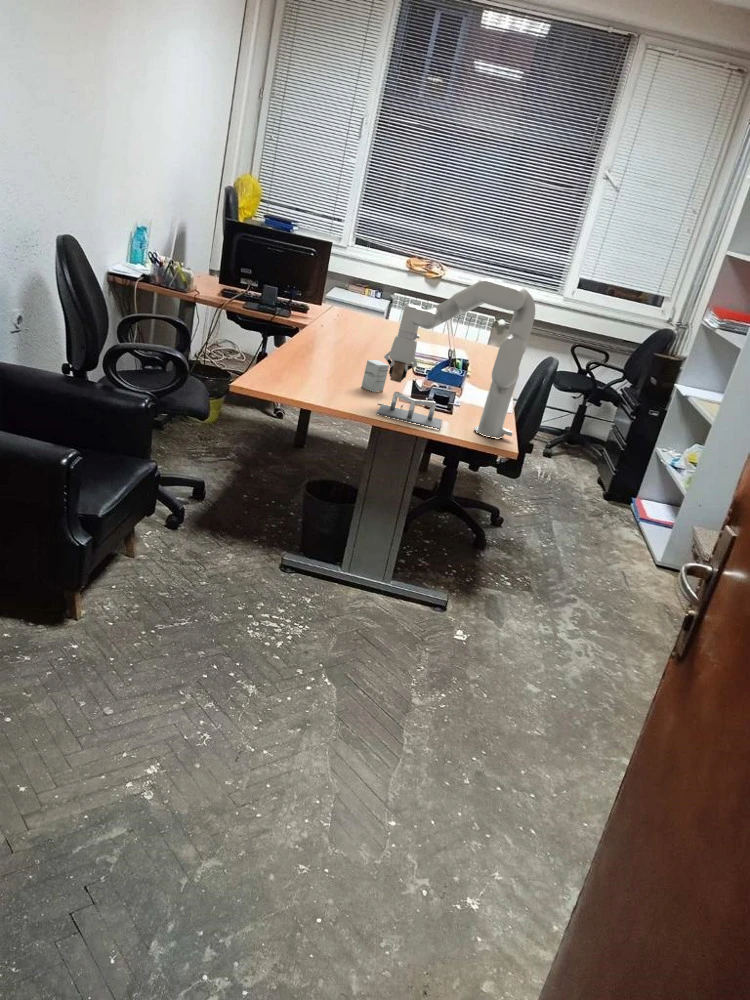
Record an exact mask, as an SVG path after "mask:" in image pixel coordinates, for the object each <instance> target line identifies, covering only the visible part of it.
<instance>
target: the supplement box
mask: <svg viewBox="0 0 750 1000" xmlns="http://www.w3.org/2000/svg"><path fill="white" fill-rule="evenodd" d="M389 369H390V365H389V364H388V363H385V362H383V361H381V360H379V359H367V361H366V364H365V369H364V374H363V378H362V382H361V388H363V389H366V390H367V391H369V390H370V391H369V392H371V391H372V392H371V393H377V392H376V391H383V392H384V388H385V384H386V380H387V376H388V373H389Z"/></svg>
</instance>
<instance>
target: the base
mask: <svg viewBox="0 0 750 1000" xmlns="http://www.w3.org/2000/svg"><path fill="white" fill-rule="evenodd" d="M390 407H391V406H388V405H384V404H382V405H380V407H379V408H378V410H377V411H376V415H377V414H379V415H383V416H387V417H390V418H389V419H391V418H395V419H399V420H403V421H407V422H411V423H416V424H420V425H424V426H428V427H433V428H437V429H439V430H441V426H442V423H443V419H441V418H437V417H433V419H432V420H428V419H427V418H428V415H425V414H421V413H418V412H413V416H412V418H408V417H407V416H408V412H409V410H406V409H399V408H395V410H390ZM379 415H378V416H379ZM383 416H382V417H383ZM387 417H386V418H387ZM395 419H394V420H395Z"/></svg>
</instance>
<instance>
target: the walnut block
mask: <svg viewBox="0 0 750 1000" xmlns="http://www.w3.org/2000/svg"><path fill="white" fill-rule="evenodd" d="M404 369H405V363H401V362H398V361H395V362H394V366H393V370H392V374H391V377H390V381H392V382H396V383H402V381H403V380H402V375H403V371H404Z"/></svg>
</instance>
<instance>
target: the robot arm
mask: <svg viewBox="0 0 750 1000" xmlns="http://www.w3.org/2000/svg"><path fill="white" fill-rule="evenodd" d="M484 304H486V305H489V306H492V307H495V308H499V309H501V310H506V311H510V312H512V313H513V314H512V318H511V320H510V324H509V328H508V331H507V333H506V337H505V338H504V339H503V340H502V341H501V344H500V346H499V348H498V351H497V354H496V358H495V360H494V365H493V367H492V371H491V382H490V387H489V389H488V393H487V396H486V399H485V402H484V407H483V409H482V410H483V411H482V413H481V417H480V421H479V424H478V425H477V426H474V428H473V430H474V429H475V431H477V432H478V433H481V434H483V435H486V436H490V437H496V438H500V437H503V436H504V435H506V436H507V437H512V436H513V431H510V429H506V428H505V427H504V423H505V421H506V416H507V413H508V409H509V406H510V403H511V400H512V397H513V394H514V391H515V388H516V384H517V381H518V380H519V376H520V365H521V363H522V360H523V355H524V354H525V353H526V351H527V346H528V342H529V338H530V336H531V331H532V328H533V325H534V321H535V316H536V303H535V301H534V298H533V296H532V294H531V293H530V292H529V291H528V290H527V289H525V288H524V287H523V286H516V285H515V286H512V287H511V286H508V285H504V284H502V283H501V284H500V283H498V282H497V281H496V280H494V279H493V278H491V277H486V278H483V279H480V280H479V281H477V282H476V283H474V284H471V285H470V286H467V287H466V288H464V289H462V290H460V291H458V292H456V293H455V294H453V295H452V296H451V297H449V298H448V299H446V300H445V301H442V302H441V303H439V304H437V305H435V306H433V307H431V308H429V309H423V307H421V306H420V305H417V304H413V303H407V304H405V306H404V309H403V312H402V316H401V321H400V325H399V329H398V332H397V334H396V335H395V337H394V339H393V342H392V344H391V348H390V351H388V352H387V353H386V354H385V355H384V356H383V358H384V359H385V361H386V362H387V364H388V365H389V369H388V374H389V377H390V378H391V374H392V370H393V366H394V362H395V361H398V362H401V363H405V369H404V371H403V375H402V381H404V379H405V378H407V373H408V371H409V370H411V369H413V368H416V367H418V363H417V360H416V351H417V347H418V346H417V345H418V341H417V340H416V339H418V340H420V338H421V337H420V336H421V335H419V334H418V330H419V327H420V328H423V329H424V330H432V329H434V328H436V327H438V326H439V325H441V324H443V323H445V322H447V321H449V320H451V319H453V318H455V317H457V316H460V315H464V314H466V313H469V312H470V311H472V310H474V309H476V308H478V307H480V306H482V305H484ZM475 431H474V432H475ZM504 437H505V436H504ZM504 437H503V438H504Z"/></svg>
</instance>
